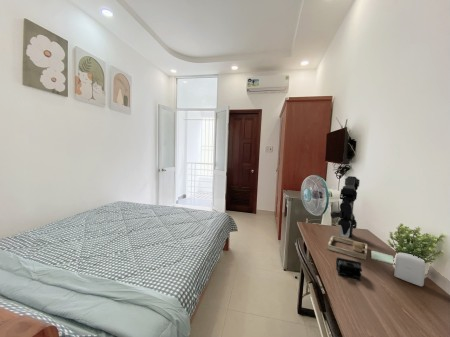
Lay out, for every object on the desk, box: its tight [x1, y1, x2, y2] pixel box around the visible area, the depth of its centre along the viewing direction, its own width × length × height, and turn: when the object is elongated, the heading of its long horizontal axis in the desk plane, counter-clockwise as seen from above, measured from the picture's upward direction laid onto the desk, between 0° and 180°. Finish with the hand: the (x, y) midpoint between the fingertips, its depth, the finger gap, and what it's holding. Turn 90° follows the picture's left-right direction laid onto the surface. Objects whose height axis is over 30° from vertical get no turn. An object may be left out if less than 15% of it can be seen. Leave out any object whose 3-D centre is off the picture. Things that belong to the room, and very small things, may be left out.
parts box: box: [339, 225, 350, 239], centre depth 125 cm, size 4×4×6 cm
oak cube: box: [352, 241, 363, 253], centre depth 123 cm, size 4×4×4 cm
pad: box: [370, 250, 395, 265], centre depth 115 cm, size 10×10×1 cm
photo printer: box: [393, 252, 426, 287], centre depth 95 cm, size 10×4×12 cm, turn 39°
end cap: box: [335, 257, 363, 281], centre depth 99 cm, size 10×7×7 cm
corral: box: [326, 235, 368, 261], centre depth 125 cm, size 18×20×2 cm
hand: (344, 233), depth 125 cm, fingers closed on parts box, 4 cm apart
